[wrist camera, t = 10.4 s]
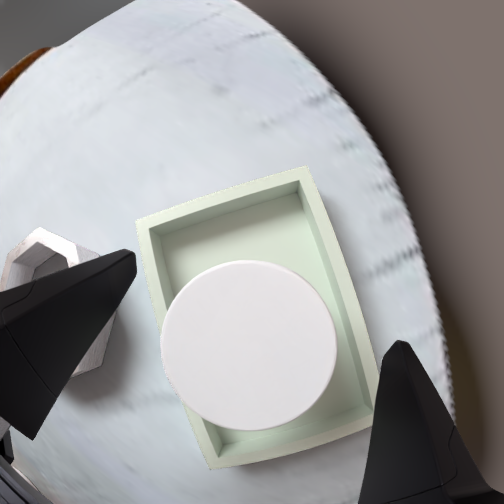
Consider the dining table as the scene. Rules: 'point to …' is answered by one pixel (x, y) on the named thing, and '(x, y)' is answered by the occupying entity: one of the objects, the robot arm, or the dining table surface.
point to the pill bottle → (249, 345)
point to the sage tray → (279, 252)
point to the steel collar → (34, 254)
